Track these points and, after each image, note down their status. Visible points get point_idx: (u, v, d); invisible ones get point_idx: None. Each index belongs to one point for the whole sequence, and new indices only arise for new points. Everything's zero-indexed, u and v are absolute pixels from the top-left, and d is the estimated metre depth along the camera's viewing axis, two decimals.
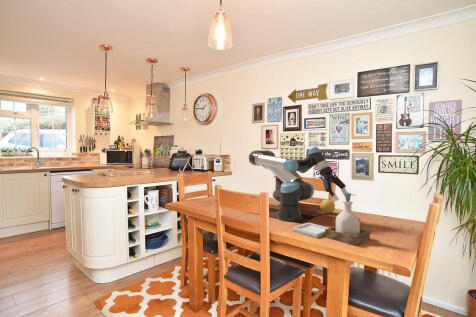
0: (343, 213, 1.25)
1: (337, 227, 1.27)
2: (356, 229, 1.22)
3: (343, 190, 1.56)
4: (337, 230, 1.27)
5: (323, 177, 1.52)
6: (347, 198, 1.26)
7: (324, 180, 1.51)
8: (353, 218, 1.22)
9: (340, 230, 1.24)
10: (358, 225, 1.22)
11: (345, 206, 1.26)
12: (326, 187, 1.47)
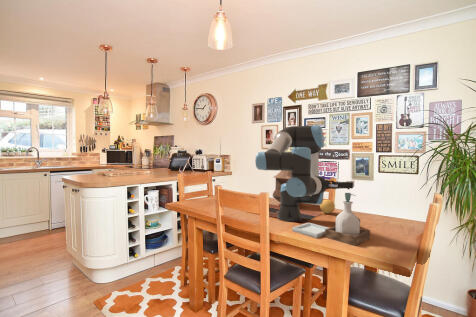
0: (343, 213, 1.25)
1: (337, 227, 1.27)
2: (356, 229, 1.22)
3: None
4: (337, 230, 1.27)
5: None
6: (347, 198, 1.26)
7: None
8: (353, 218, 1.22)
9: (340, 230, 1.24)
10: (358, 225, 1.22)
11: (345, 206, 1.26)
12: None
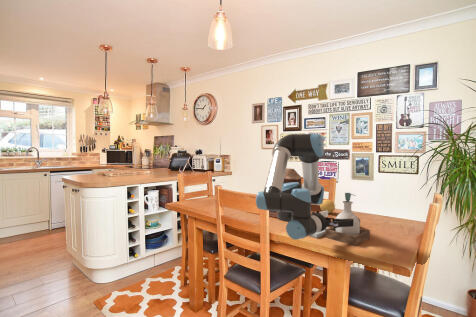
0: (343, 213, 1.25)
1: None
2: (356, 229, 1.22)
3: None
4: (337, 230, 1.27)
5: None
6: (347, 198, 1.26)
7: None
8: None
9: (340, 230, 1.24)
10: (358, 225, 1.22)
11: (345, 206, 1.26)
12: None
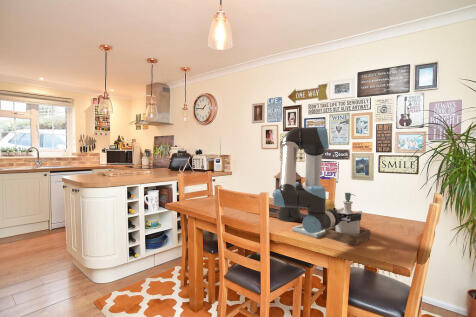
0: None
1: (337, 227, 1.27)
2: (356, 229, 1.22)
3: None
4: (337, 230, 1.27)
5: None
6: (347, 198, 1.26)
7: None
8: None
9: (340, 230, 1.24)
10: (358, 225, 1.22)
11: (345, 206, 1.26)
12: None
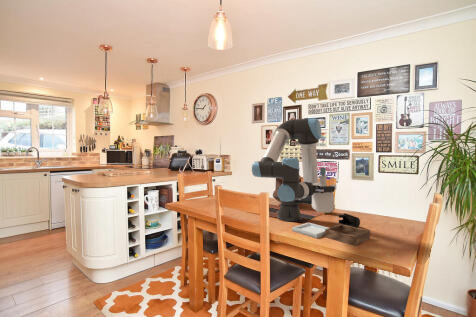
0: None
1: (313, 200, 1.33)
2: (330, 201, 1.28)
3: None
4: (313, 203, 1.33)
5: None
6: (322, 172, 1.32)
7: None
8: None
9: (315, 202, 1.30)
10: (332, 197, 1.28)
11: (320, 180, 1.32)
12: None
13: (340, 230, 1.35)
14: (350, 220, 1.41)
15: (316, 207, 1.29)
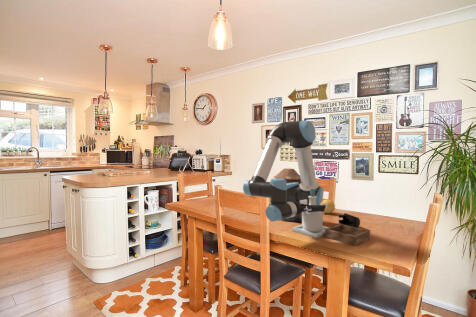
0: None
1: (303, 220, 1.37)
2: (319, 221, 1.32)
3: None
4: (303, 223, 1.37)
5: None
6: (312, 193, 1.35)
7: None
8: (316, 212, 1.32)
9: (305, 222, 1.33)
10: (321, 218, 1.32)
11: (310, 200, 1.36)
12: None
13: (340, 230, 1.35)
14: (350, 220, 1.41)
15: (305, 227, 1.33)
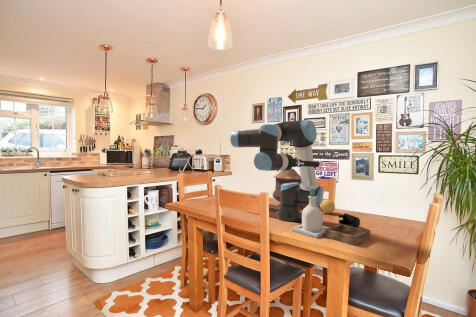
0: (308, 207, 1.35)
1: (303, 220, 1.37)
2: (319, 222, 1.32)
3: None
4: (303, 223, 1.37)
5: None
6: (311, 193, 1.35)
7: None
8: (316, 212, 1.32)
9: (304, 223, 1.33)
10: (321, 218, 1.32)
11: (310, 200, 1.36)
12: None
13: (340, 230, 1.35)
14: (350, 220, 1.41)
15: (305, 227, 1.33)
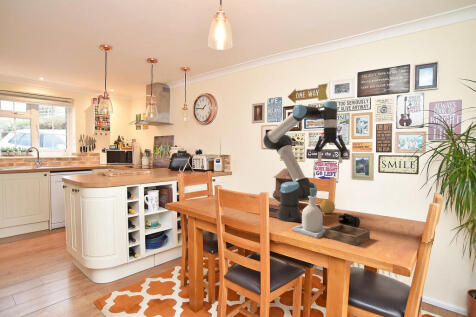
0: (308, 207, 1.35)
1: (303, 220, 1.37)
2: (319, 222, 1.32)
3: None
4: (303, 223, 1.37)
5: None
6: (311, 193, 1.35)
7: None
8: (316, 212, 1.32)
9: (304, 223, 1.33)
10: (321, 218, 1.32)
11: (310, 200, 1.36)
12: None
13: (340, 230, 1.35)
14: (350, 220, 1.41)
15: (305, 227, 1.33)
